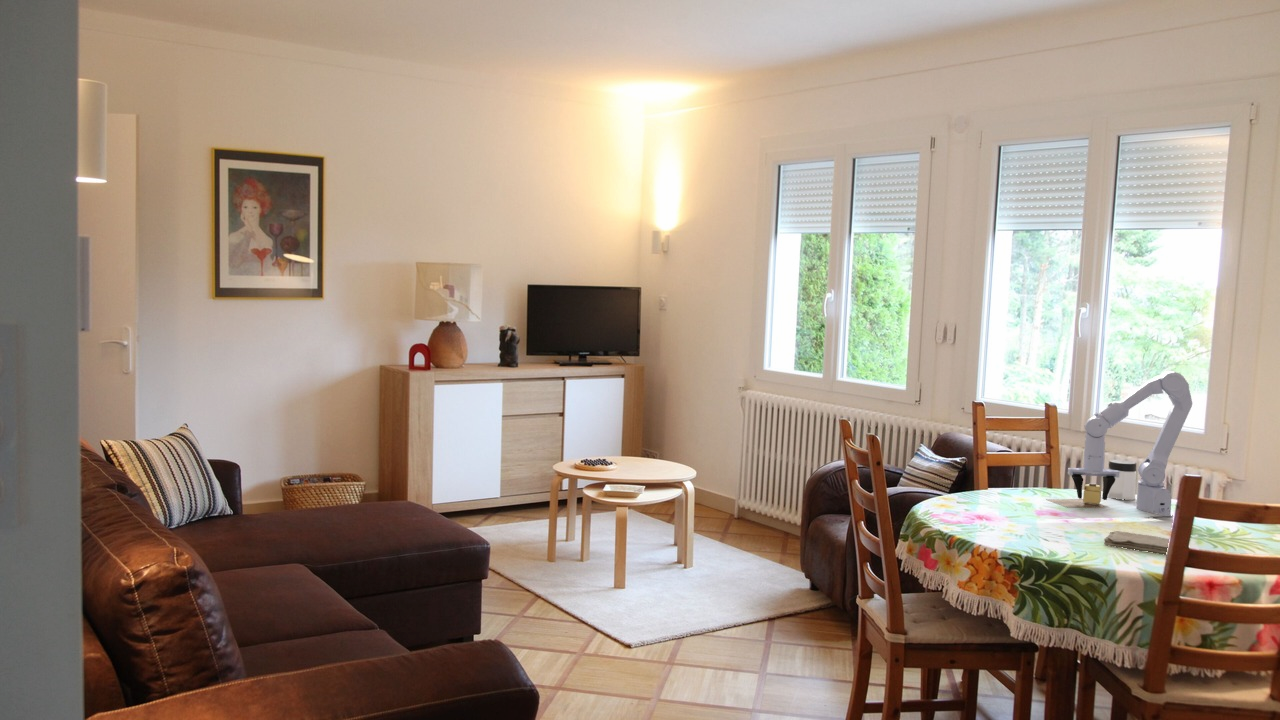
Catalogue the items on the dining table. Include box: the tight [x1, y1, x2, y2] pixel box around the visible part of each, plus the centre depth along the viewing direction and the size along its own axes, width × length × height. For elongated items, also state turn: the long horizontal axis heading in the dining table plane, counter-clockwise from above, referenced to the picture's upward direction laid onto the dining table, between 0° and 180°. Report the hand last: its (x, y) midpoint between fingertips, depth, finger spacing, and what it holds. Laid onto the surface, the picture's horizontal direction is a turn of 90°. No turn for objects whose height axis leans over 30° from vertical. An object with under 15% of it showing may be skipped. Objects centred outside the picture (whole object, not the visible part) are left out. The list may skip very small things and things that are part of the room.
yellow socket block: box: [1082, 482, 1102, 504], centre depth 299 cm, size 5×5×6 cm
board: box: [1045, 498, 1109, 509], centre depth 300 cm, size 12×14×1 cm
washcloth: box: [1103, 530, 1170, 556], centre depth 252 cm, size 12×18×3 cm, turn 55°
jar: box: [1107, 459, 1137, 501], centre depth 315 cm, size 9×8×12 cm
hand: (1092, 498), depth 299 cm, fingers open, 7 cm apart
